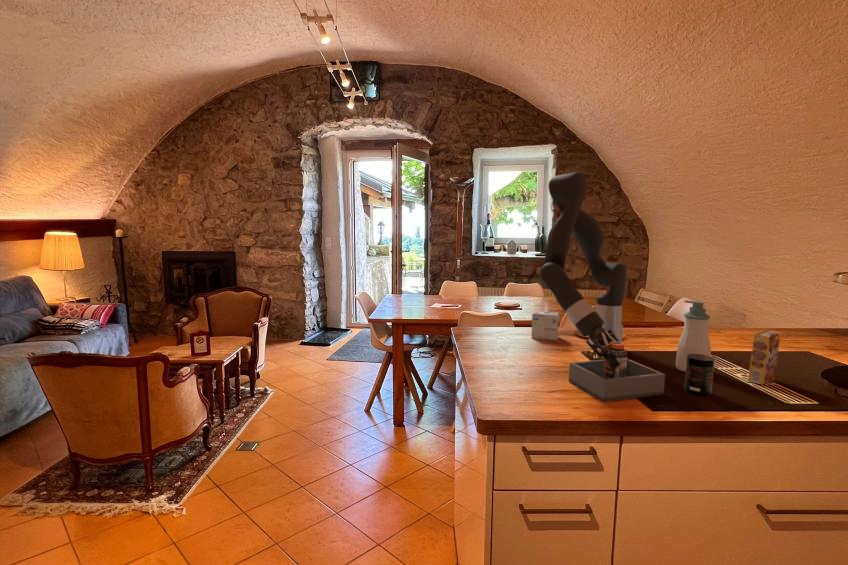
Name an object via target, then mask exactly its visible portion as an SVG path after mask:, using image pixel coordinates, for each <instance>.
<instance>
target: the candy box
mask: <svg viewBox="0 0 848 565" xmlns="http://www.w3.org/2000/svg"><path fill="white" fill-rule="evenodd" d="M781 335H782V333H781V332H778V331H771V330H764V331H759V332H758V333H754V336H753V341H752V342H753V343H752V349H751V355H750V356H751V357H750V362H749V370H748V377H747V382H748V381H749V382H748V383H751V382H753V383H752V384H755V383H757V384H756V385H758V384H761V385H760V386H764V385H766V384H768V383H767V382H769V383H770V381H771V382H773V381H775V376H776V369H777V364H778V363H777V362H778V357H779V356H778V355H779V349H780V342H781ZM772 380H773V381H772ZM765 383H766V384H765ZM763 384H764V385H763Z"/></svg>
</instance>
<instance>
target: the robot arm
mask: <svg viewBox="0 0 848 565" xmlns="http://www.w3.org/2000/svg"><path fill="white" fill-rule="evenodd" d="M587 184H588V182H587V178H586V177H585V175H584V174H583V173H582V172H580V171H574V172H568V173H564V174H558V175H555V176H553V177H551V178H550V180H549V182H548V191H549V195H550V197H551V199H552V202H554V204H555V205H556V207H557V209H558V211H560V213H561V214H560V216H559V217H558V218H557V220H556V221H555V222H554V223H553V225H552V226H551V228H550V230H549V232H548V235H547V240H546V244H545V250H544V260H543V265H542V266H541V268H540V270H539V279H540V283H541V285H542V287H544V288H546V289H547V290H549V291H551V292H552V294H553V295H554V297H555V300H556V302H557V303H558V305H559V306H560V307H561V308H562V310H563V311H564V312H565V315H567V317H568V318H569V320H570V321H571V323H572V324H573V325H574V327H575V328H576V329H577V330H578V332H579V333H580V334H581V335H582V337H585V338H586V337H587V336H588V339H586V340H585V342H586V344H587V345H588V347H589V348H591V350H592V351H593V352H594V353H595V355H596V356H598V358H603V359H605V358H606V360H607V361H608V362H609V364H610V365H611V366H612V367H613V368H616V367H618V366H619V365H620V363H619V362H618V361H617V359H616V358H615V357H614V355H613V354H611V351H610V350H609V343H610V342H612V341H616V342H622V343H623V330H624V325H623V323H622V311H623V301H624V298H625V291H626V285H627V284H626V282H627V268H626V266H625V265H624V263H621V262H613V261H612V262H609V261H608V262H607V261H606V260H604V258H603V256H602V255H601V254H602V253H601V251H602V248H603V245H604V242H605V235H604V234H605V233H604V232H603V230H602V228H601V225H600V223H599V222H598V220H597V219H596V218H595V217H594V216H592V215H591V214H590V213H588V212H586V211H585V210H584V209H582V208H581V207H582V205H583V202H584V199H585V196H586V193H587V186H588V185H587ZM572 235H573V236H574V238H575V241H576V242H577V244H578V246H579V248H580V250H581V252H582V253H583V255H584V259H585V260H586V263H587V265H588V266H587V267H588V268H589V270H590V273H591V276H592V279H593V280H594V282H595V284H597V285H599V286H603V287H609V288H608V289H609V290H608V292H607V293H603V294H599V295H597V296H596V299H595V300H596V303H595V308H594V307H593V306H592V305H591V303H589V302H588V301H587V300H586V299H585V298H584V297H583V294H581V293H580V291H579V290H578V289H577V288H576V287H575V285H574V284H573V282H572V281H571V279H570V278H569V276H568V275H567V273H566V271H565V268H566V261H567V256H568V252H569V248H570V242H571V238H572ZM628 360H629V358H628V356H627V361H628Z"/></svg>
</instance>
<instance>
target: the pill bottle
mask: <svg viewBox="0 0 848 565" xmlns="http://www.w3.org/2000/svg"><path fill="white" fill-rule="evenodd" d="M609 350H610V351H611V354H613V355H614V357H615V358H616V359H617V361H618V362H619V363H620V365H619V366H618V367H616V368H613V367H612V366H611V365H610V364H609V362H608V361H607V360H606V358H604V360H605V365H604V379H610V378H620V377H626V367H627V357H628V352H627V351H626V350H625V343H624V342H623V341H622V342H616V341H612V342H610V343H609Z"/></svg>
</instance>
